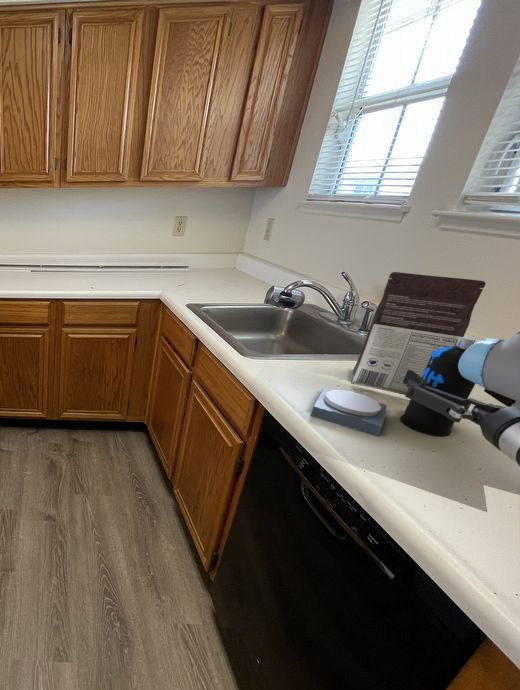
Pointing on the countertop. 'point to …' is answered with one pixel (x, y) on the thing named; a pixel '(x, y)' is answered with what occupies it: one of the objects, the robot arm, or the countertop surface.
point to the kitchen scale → (350, 410)
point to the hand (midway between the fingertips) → (447, 380)
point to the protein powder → (414, 326)
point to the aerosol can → (444, 378)
